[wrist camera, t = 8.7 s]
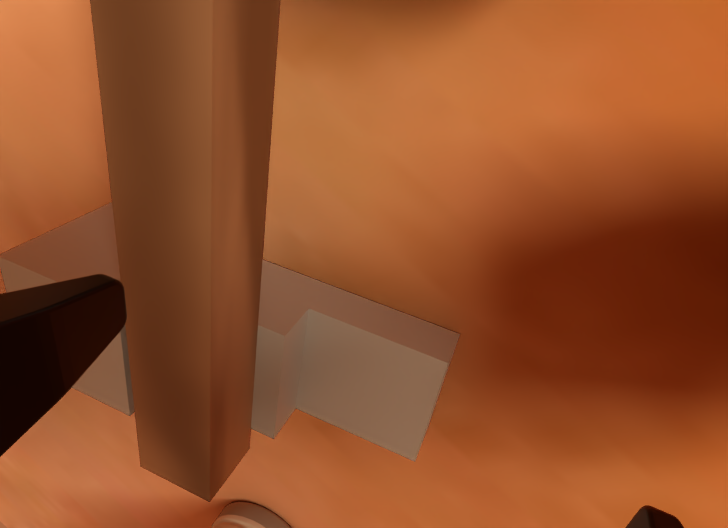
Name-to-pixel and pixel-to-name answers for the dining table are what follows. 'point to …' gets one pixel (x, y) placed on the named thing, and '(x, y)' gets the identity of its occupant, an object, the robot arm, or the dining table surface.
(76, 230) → the notch rack
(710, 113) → the dining table surface
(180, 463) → the walnut bar
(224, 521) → the travel mug
